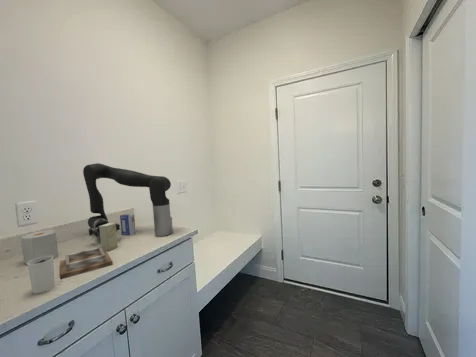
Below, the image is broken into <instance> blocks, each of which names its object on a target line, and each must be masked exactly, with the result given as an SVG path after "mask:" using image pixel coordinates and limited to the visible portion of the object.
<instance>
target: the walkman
mask: <svg viewBox="0 0 476 357" xmlns="http://www.w3.org/2000/svg"><path fill="white" fill-rule="evenodd" d="M119 220H120V222H119V223H120V231H121V235H122V236H134V235H137V232H136V221H135V214H120V215H119Z"/></svg>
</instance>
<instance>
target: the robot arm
mask: <svg viewBox="0 0 476 357" xmlns="http://www.w3.org/2000/svg"><path fill="white" fill-rule="evenodd" d="M82 174H83V178H84V179H83V180H84V181H85V186H86V189H87V193H88V198H89V210H90V213H92V214H99V215H93V216H90V217H89V218H88V219H87V225H88V227H89V228H88V235H89V236H90V237H91V236H96V237H97V236H99V235H100V229H99V226H102V225H104V224H107V223H110V222H109V221H108V220H109V219H108V217H107V214H106V213H105V208H104V198H103V196H102V193H101V192H100V191H99V189H98V187H97V180H99V179H109V180H113V181H114V182H116V183H117V184H119V185H122V186H127V187H132V188H133V187H134V188H135V187H136V188H148V189H149V198H150V201H151V204H152V214H153V216H152V217H153V227H154V235H155V237H167V236H169V235H172V234H174V229H173V217H172V216H171V207H170V206H171V205H170V204H171V203H170V199H169V198H168V197H167V196H166V195H167V194H166V192H167V191H168V190H169V189H171V186H172V183H171V181H170V179H169V178H167V177H166V176H158V175H152V174H146V173H143V172H138V171H135V170H131V169H130V170H129V169H126V168H119V167H113V166H112V167H111V166H109V165H107V164H104V163H103V164H102V163H99V162H97V163H91V164H86V165H85V166H84V167H83V170H82ZM115 223H116V222H115ZM119 230H120V231H121V224H119V223H116V233H117V232H118V231H119Z"/></svg>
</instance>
